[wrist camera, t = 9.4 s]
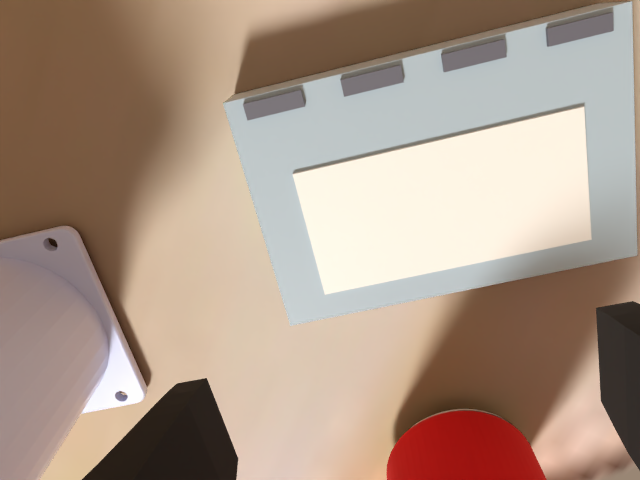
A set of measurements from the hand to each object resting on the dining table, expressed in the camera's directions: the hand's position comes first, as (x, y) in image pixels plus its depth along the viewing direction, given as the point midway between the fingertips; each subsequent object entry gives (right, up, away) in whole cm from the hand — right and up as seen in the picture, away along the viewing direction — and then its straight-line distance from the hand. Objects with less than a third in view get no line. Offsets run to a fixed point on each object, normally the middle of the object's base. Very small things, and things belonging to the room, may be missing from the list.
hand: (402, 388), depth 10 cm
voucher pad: (+2, +5, +9) cm, 11 cm away
